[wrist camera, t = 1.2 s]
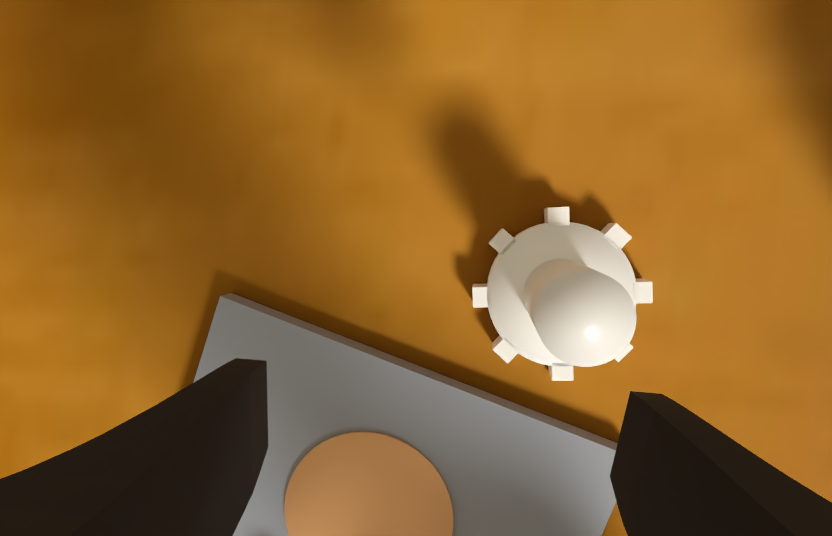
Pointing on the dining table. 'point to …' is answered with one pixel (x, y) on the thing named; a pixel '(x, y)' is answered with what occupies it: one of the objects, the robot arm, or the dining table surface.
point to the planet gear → (562, 294)
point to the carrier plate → (400, 444)
